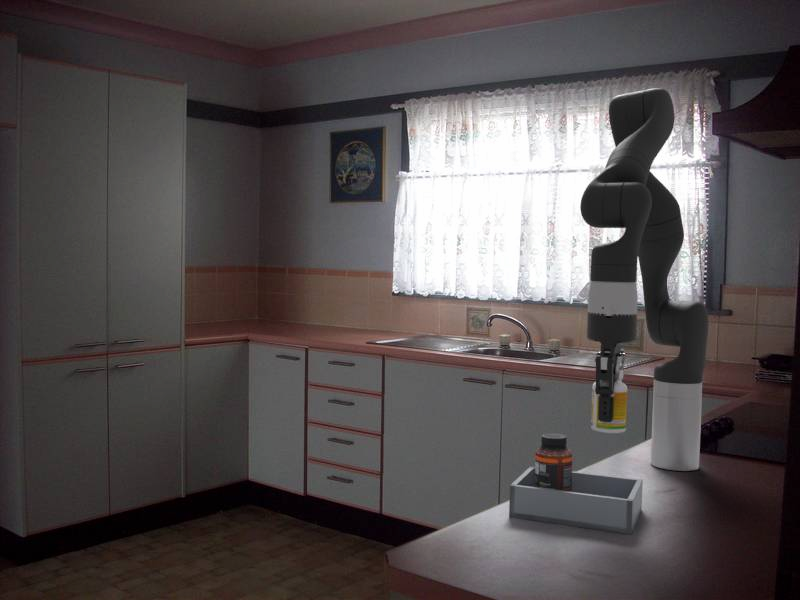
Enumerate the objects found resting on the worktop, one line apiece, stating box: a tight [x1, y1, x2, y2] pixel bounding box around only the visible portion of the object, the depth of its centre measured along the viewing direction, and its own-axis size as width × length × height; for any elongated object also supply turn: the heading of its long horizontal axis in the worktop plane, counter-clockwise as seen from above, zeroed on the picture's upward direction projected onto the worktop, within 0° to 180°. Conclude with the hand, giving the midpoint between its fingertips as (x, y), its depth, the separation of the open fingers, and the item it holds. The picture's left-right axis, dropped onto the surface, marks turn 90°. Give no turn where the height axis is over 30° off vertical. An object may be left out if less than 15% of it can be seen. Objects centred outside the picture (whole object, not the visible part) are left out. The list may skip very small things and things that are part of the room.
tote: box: [508, 466, 644, 535], centre depth 131 cm, size 14×19×5 cm
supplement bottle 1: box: [534, 432, 573, 492], centre depth 133 cm, size 6×6×11 cm
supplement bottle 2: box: [590, 369, 628, 434], centre depth 129 cm, size 5×5×10 cm
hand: (608, 417), depth 129 cm, fingers closed on supplement bottle 2, 5 cm apart
